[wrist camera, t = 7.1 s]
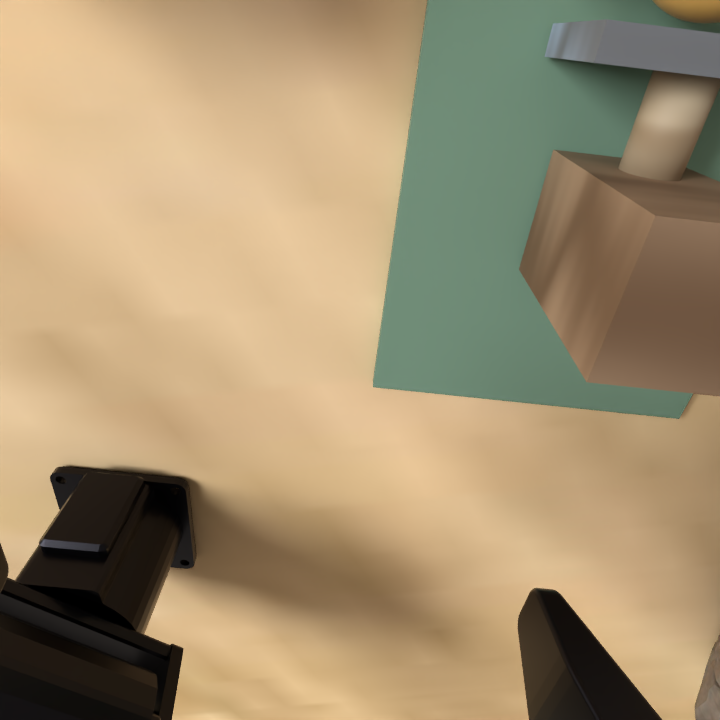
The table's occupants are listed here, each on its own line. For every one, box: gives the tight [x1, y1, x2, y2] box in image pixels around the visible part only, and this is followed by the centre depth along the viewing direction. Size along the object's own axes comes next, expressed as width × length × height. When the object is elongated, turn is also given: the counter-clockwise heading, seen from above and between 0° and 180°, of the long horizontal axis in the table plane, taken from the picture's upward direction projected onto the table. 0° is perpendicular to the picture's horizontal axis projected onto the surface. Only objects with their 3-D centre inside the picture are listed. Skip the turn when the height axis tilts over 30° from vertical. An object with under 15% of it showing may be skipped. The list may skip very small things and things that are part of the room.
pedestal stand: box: [519, 19, 720, 396], centre depth 13 cm, size 7×6×7 cm
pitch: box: [373, 0, 720, 419], centre depth 16 cm, size 21×13×1 cm, turn 174°
